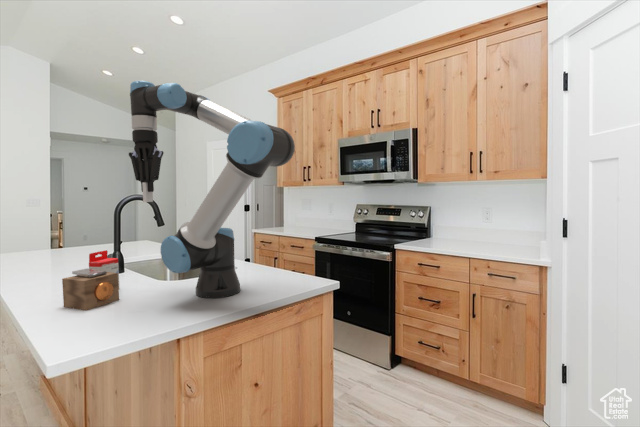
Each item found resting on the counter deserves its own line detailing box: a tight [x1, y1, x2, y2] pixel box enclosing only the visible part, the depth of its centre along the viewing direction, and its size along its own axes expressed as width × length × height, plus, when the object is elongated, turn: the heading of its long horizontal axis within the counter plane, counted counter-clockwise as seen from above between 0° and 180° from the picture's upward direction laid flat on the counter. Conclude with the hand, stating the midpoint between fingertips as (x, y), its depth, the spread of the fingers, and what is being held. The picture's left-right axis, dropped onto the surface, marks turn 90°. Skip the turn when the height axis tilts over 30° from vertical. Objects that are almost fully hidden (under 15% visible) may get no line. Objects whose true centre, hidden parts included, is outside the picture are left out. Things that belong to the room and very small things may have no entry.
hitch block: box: [61, 272, 120, 311], centre depth 116 cm, size 10×11×9 cm
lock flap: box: [71, 267, 107, 278], centre depth 116 cm, size 8×6×1 cm, turn 69°
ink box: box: [88, 250, 120, 286], centre depth 129 cm, size 8×5×15 cm, turn 168°
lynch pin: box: [94, 282, 113, 300], centre depth 116 cm, size 11×6×6 cm, turn 69°
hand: (148, 201), depth 121 cm, fingers closed
